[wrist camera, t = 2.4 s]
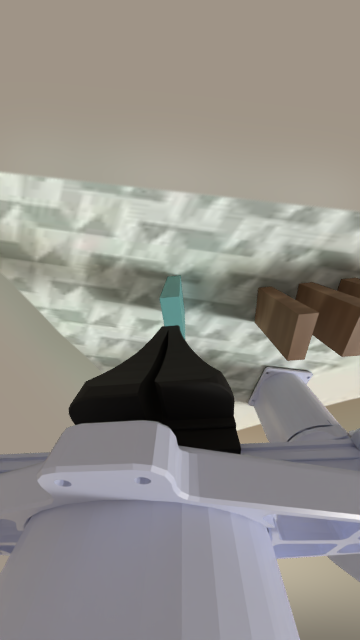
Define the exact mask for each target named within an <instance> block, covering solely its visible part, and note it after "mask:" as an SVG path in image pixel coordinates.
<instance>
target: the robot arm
mask: <svg viewBox="0 0 360 640" xmlns="http://www.w3.org/2000/svg"><path fill="white" fill-rule="evenodd" d="M312 376H313V374H312V373H311V372H309V371H300V370H291V369H282V368H273V367H267V368H265V370H264V372H263V374H262V376H261V378H260V380H259V382H258V384H257V386H256V388H255V390H254V392H253V394H252V396H251V398H250V400H249V402H248V404H249V405H250V406H254V408H255V410H256V413H257V415H258V418H259V420H260V422H261V425H262V427H263V429H264V432H265V434H266V436H267V439H268V440H269V442H270V443H250V444H240V442H239V439H238V435H237V431H236V423H235V419H234V416H233V415H234V396H233V393H232V391H231V388H230V386H229V384H228V382H227V381H226V379H225V377H224V376H223V374H222V373H221V372H220V371H218V370H217V369H215V368H213V367H211V366H210V365H208V364H207V363H206V362H204V361H203V360H202V359H201V358H200V357H199V356H197V355H196V353H195V352H194V351H193V350H192V349H191V348H190V347H189V345H188V344H187V342H186V341H185V339H184V337H183V336H182V333H181V331H180V326H179V325H174V326H163V327H161V328H160V330H159V331H158V332H157V333H156V334H155V335H154V337H153V338H152V339H151V340H150V341H149V342H148V343H147V344H146V345H145V346H144V347H143V348H142V349H141V350H139V351H138V352H137V353H136V354H135V355H133V356H132V357H130V358H129V359H127V360H126V361H125V362H123V363H122V364H120V365H118V366H117V367H115V368H113V369H111V370H109V371H108V372H106V373H104V374H101V375H99V376H97V377H95V378H93V379H91V380H88V381H86V382H85V384H84V385H83V387H82V388H81V390H80V391H79V393H78V394H77V396H76V397H75V399H74V400H73V402H72V403H71V405H70V407H69V415H70V417H71V419H72V421H73V422H74V424H75V425H74V426H70V427H68V428H66V429H65V431H64V432H63V433H62V434H61V436H60V437H59V439H58V441H57V443H56V444H55V446H54V447H53V449H52V451H51V452H47V453H24V454H1V455H0V555H7V556H9V558H8V560H7V562H6V564H5V566H4V568H3V569H2V571H1V573H0V640H300V638H299V635H298V631H297V628H296V624H295V621H294V617H293V614H292V611H291V607H290V604H289V600H288V597H287V593H286V590H285V587H284V583H283V580H282V576H281V573H280V570H279V567H278V563H277V559H283V558H284V559H285V558H300V557H315V556H328V558H329V559H331V560H332V561H333V562H334V563H335V564H336V565H338V566H339V567H340V568H342V569H343V570H344V571H346V572H347V573H348V574H350V575H351V576H352V577H354V578H355V579H356V580H358V581H359V582H360V428H359V429H357V430H355V431H354V430H352V431H349V433H348V432H347V431H346V430H345V429H344V428H343V427H342V426H341V425H340V424H339V423H338V422H337V421H336V419H335V418H334V417H333V416H332V414H331V413H330V412H329V411H328V410H327V409H326V407H325V406H324V405H323V404H322V403H321V401H320V400H319V399H318V398H317V397H316V395H315V394H314V393H313V392H312V391H311V390H310V388H309V387H308V386H307V385H306V384H307V383H308V381H309V380H310V378H311V377H312Z"/></svg>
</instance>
